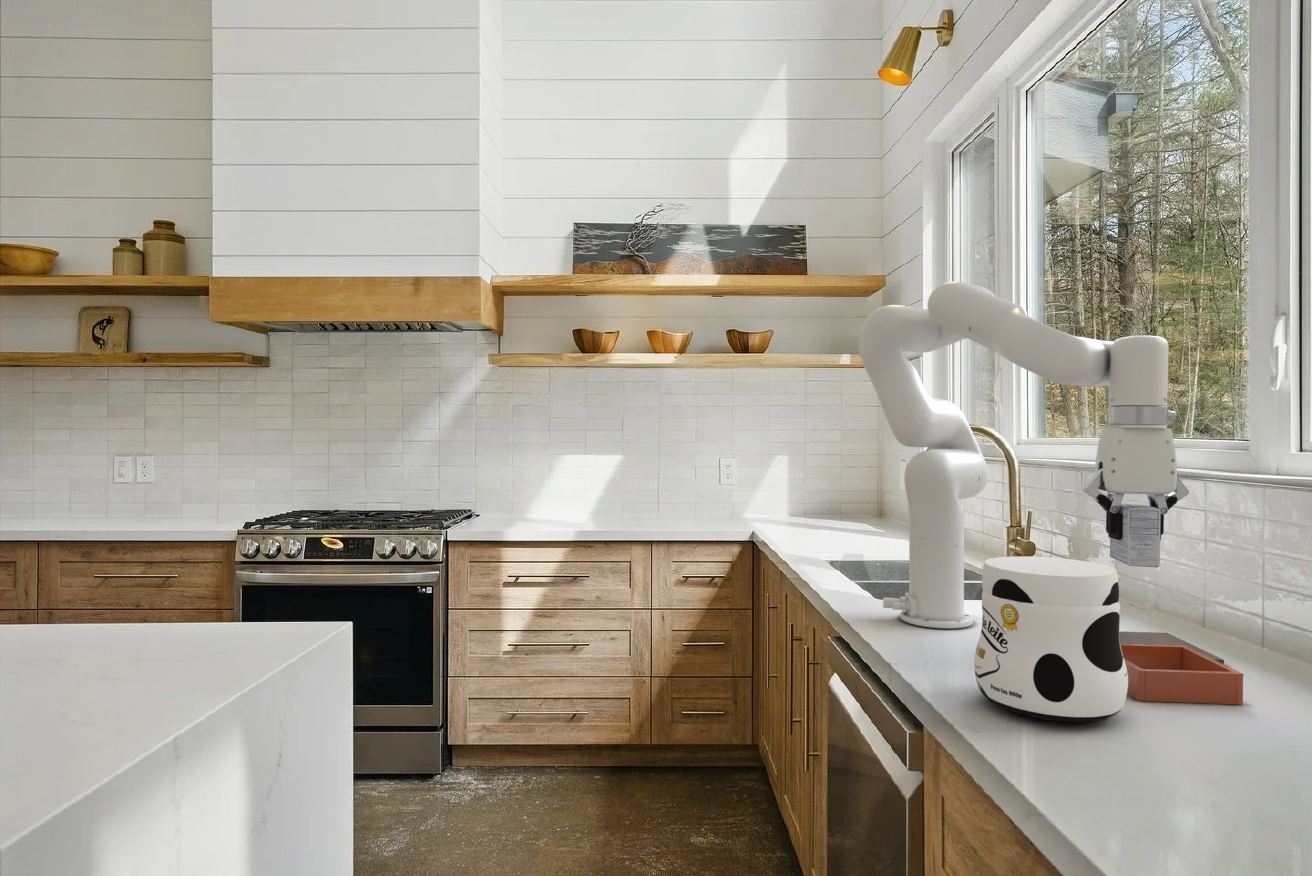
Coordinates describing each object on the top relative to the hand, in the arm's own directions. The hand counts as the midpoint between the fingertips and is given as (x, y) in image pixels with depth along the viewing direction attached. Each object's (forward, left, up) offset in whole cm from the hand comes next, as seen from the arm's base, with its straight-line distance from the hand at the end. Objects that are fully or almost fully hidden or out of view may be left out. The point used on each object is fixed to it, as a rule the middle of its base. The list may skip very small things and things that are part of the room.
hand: (1134, 537), depth 120 cm
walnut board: (+2, +7, -19) cm, 20 cm away
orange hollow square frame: (-1, -12, -19) cm, 22 cm away
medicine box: (0, 0, -4) cm, 4 cm away
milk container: (-20, -23, -19) cm, 36 cm away
